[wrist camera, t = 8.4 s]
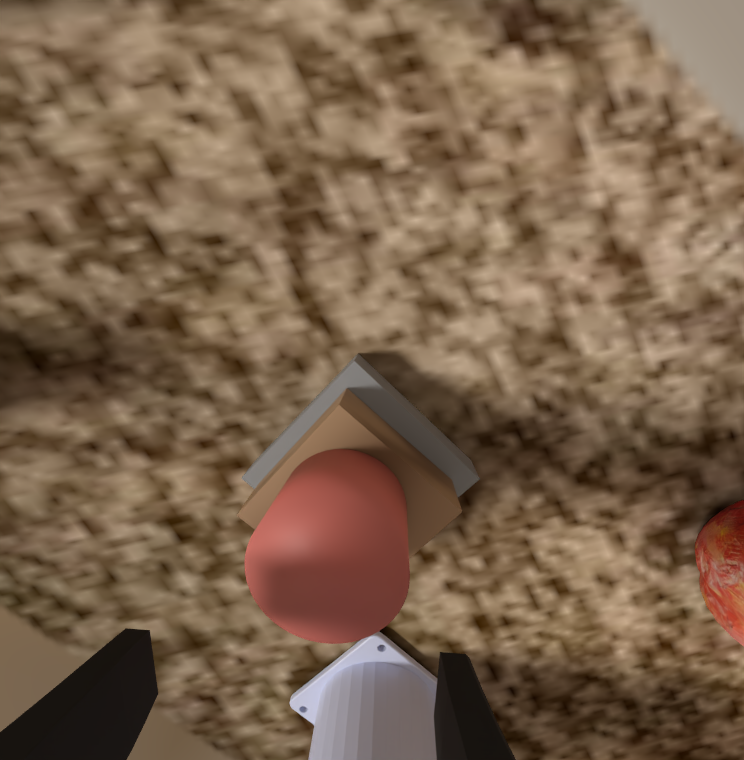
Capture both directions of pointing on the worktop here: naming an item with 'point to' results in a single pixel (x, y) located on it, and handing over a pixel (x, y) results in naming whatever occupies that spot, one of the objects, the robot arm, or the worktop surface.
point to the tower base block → (389, 408)
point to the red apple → (724, 568)
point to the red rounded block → (332, 549)
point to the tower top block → (378, 439)
